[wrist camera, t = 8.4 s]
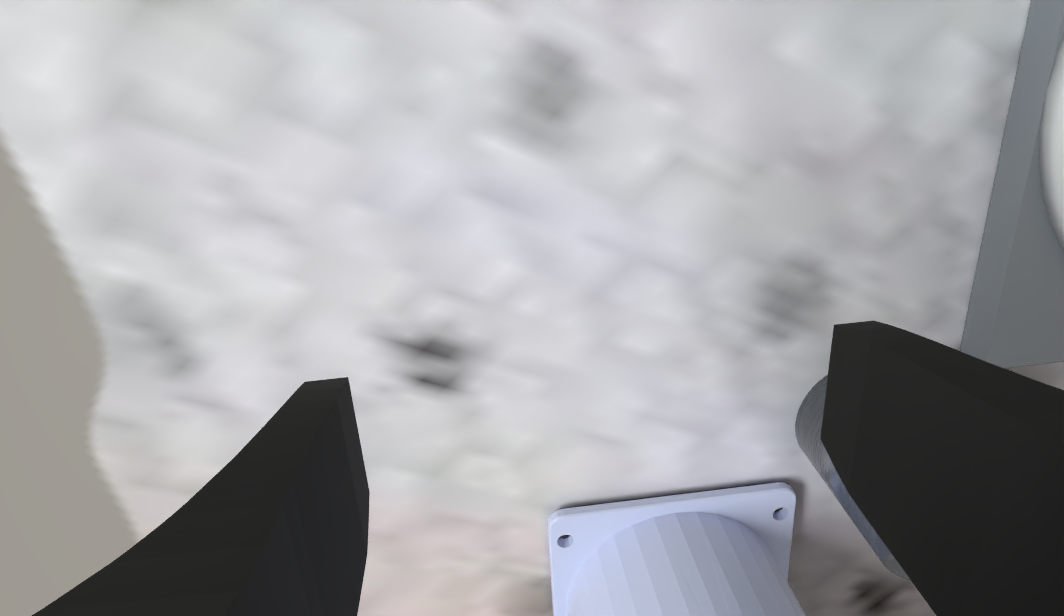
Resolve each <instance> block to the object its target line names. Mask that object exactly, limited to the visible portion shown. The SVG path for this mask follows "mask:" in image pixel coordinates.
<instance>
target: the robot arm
mask: <svg viewBox="0 0 1064 616" xmlns="http://www.w3.org/2000/svg"><path fill="white" fill-rule="evenodd" d="M820 439H821V441H822V443H823V445H824V447H825V449H826V451H827V453H828V455H829V457H830V459H831V461H832V463H833V465H834V467H835V469H836V471H837V473H838V475H839V477H840V479H841V480H842V482H843V484H844V486H845V488H846V490H847V491H848V493H849V495H850V496H851V498H852V499H853V500H854V502H855V503H856V505H857V506H858V508H859V509H860V511H861V512H862V513H863V515H864V516H865V518H866V519H867V520H868V522H869V523H870V525H871V526H872V527H873V529H874V530H875V532H876V533H877V534H878V536H879V537H880V539H881V540H882V541H883V543H884V544H885V545H886V547H887V548H888V549H889V551H890V552H891V554H892V555H893V556H894V558H895V559H896V560H897V562H898V563H899V565H900V566H901V567H902V569H903V570H904V571H905V573H906V574H907V576H908V577H909V578H910V580H911V581H912V582H913V584H914V585H915V586H916V588H917V589H918V591H919V592H920V593H921V595H922V596H923V597H924V599H925V600H926V602H927V603H928V604H929V606H930V607H931V608H932V610H933V611H934V613H935V614H936V615H937V616H1064V390H1061V389H1058V388H1055V387H1052V386H1049V385H1047V384H1044V383H1041V382H1038V381H1036V380H1033V379H1030V378H1028V377H1025V376H1022V375H1020V374H1017V373H1014V372H1012V371H1009V370H1006V369H1004V368H1001V367H999V366H996V365H994V364H991V363H988V362H986V361H983V360H981V359H978V358H976V357H973V356H971V355H968V354H966V353H963V352H961V351H958V350H955V349H953V348H950V347H948V346H945V345H943V344H940V343H938V342H935V341H933V340H930V339H927V338H925V337H922V336H919V335H917V334H914V333H911V332H909V331H906V330H903V329H900V328H897V327H894V326H891V325H888V324H884V323H880V322H877V321H866V322H857V323H848V324H838V325H834V330H833V338H832V346H831V355H830V363H829V371H828V379H827V387H826V395H825V404H824V412H823V420H822V428H821V436H820ZM781 507H782V509H781V510H780V511H778V512H774V511H775V510H776V509H778V508H781ZM795 507H796V494H795V492H794V491H793V489H792V488H791V486H790V485H789V484H787V483H784V482H777V483H769V484H761V485H753V486H745V487H736V488H728V489H720V490H712V491H704V492H696V493H688V494H680V495H671V496H663V497H655V498H647V499H639V500H631V501H623V502H614V503H606V504H598V505H590V506H582V507H574V508H566V509H560V510H557V511H555V512H554V513H552V514H551V515H550V517H549V518H548V523H547V525H548V541H549V556H550V572H551V588H552V603H553V616H806V615H805V613H804V611H803V609H802V608H801V606H800V604H799V602H798V600H797V598H796V597H795V595H794V593H793V591H792V589H791V587H790V586H789V584H788V582H787V580H788V570H789V561H790V552H791V543H792V534H793V525H794V516H795ZM368 522H369V488H368V482H367V477H366V471H365V466H364V461H363V455H362V450H361V445H360V439H359V434H358V428H357V423H356V418H355V412H354V407H353V402H352V396H351V391H350V385H349V380H348V377H346V378H337V379H327V380H318V381H309V382H304V383H303V384H302V385H301V386H300V387H299V388H298V389H297V390H296V392H295V393H294V394H293V395H292V396H291V397H290V398H289V399H288V400H287V401H286V403H285V404H284V405H283V406H282V407H281V408H280V409H279V410H278V411H277V413H276V414H275V415H274V416H273V417H272V418H271V419H270V420H269V421H268V422H267V424H266V425H265V426H264V427H263V428H262V429H261V430H260V431H259V432H258V433H257V434H256V435H255V436H254V437H253V438H252V439H251V441H250V442H249V443H248V444H247V445H246V446H245V447H244V448H243V449H242V450H241V451H240V452H239V453H238V454H237V455H236V456H235V457H234V458H233V459H232V460H231V461H230V462H229V463H228V464H227V465H226V466H225V467H224V468H223V469H222V470H221V471H220V472H219V473H218V474H216V475H215V476H214V477H213V478H212V479H211V480H210V481H209V482H208V483H207V484H206V485H205V486H204V487H203V488H202V489H201V490H200V491H199V492H197V493H196V494H195V495H194V496H193V497H192V498H191V499H190V500H189V501H188V502H187V503H186V504H185V505H183V506H182V507H181V508H180V509H179V510H178V511H177V512H175V513H174V514H173V515H172V516H171V517H169V518H168V519H167V520H166V521H165V522H163V523H162V524H161V525H160V526H159V527H157V528H156V529H155V530H154V531H152V532H151V533H150V534H148V535H147V536H146V537H145V538H143V539H142V540H141V541H139V542H138V543H137V544H136V545H134V546H133V547H132V548H130V549H129V550H128V551H127V552H125V553H124V554H123V555H121V556H120V557H119V558H117V559H116V560H114V561H113V562H112V563H110V564H109V565H107V566H106V567H104V568H103V569H101V570H100V571H98V572H97V573H95V574H94V575H92V576H91V577H90V578H88V579H86V580H85V581H83V582H82V583H80V584H79V585H78V586H76V587H75V588H73V589H72V590H70V591H69V592H67V593H66V594H64V595H63V596H61V597H60V598H58V599H57V600H56V601H54V602H52V603H51V604H49V605H48V606H46V607H45V608H44V609H42V610H40V611H38V612H37V613H35V614H34V615H32V616H357V613H358V607H359V601H360V595H361V589H362V583H363V577H364V570H365V564H366V558H367V546H368ZM562 535H570V536H569V537H568V538H565V539H559V537H560V536H562Z"/></svg>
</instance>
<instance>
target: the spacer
mask: <svg viewBox="0 0 1064 616" xmlns="http://www.w3.org/2000/svg"><path fill="white" fill-rule="evenodd" d="M827 379H828V375H827V376H825V377H824V378H823V379H822V380H820V381H819V382H818V383H817V384H816V385H815V386H814V387H813V388H812V389H811V390H810V392H809V393H808V394H807V395H806V397H805V399H804V400H803V402H802V404H801V406H800V408H799V411H798V414H797V418H796V424H795V431H796V438H797V441H798V444H799V446H800V448H801V449H802V451H803V452H804V453H805V455H806V456H807V458H808V459H809V460H810V462H811V463H812V465H813V466H814V467H815V469H816V470H817V472H818V473H819V474H820V476H821V477H822V479H823V480H824V481H825V483H826V484H827V486H828V487H829V489H830V490H831V491H832V493H833V494H834V496H835V497H836V498H837V500H838V501H839V503H840V504H841V505H842V507H843V508H844V510H845V511H846V512H847V514H848V515H849V517H850V518H851V519H852V521H853V522H854V524H855V525H856V526H857V528H858V529H859V531H860V532H861V533H862V535H863V536H864V538H865V539H866V540H867V542H868V543H869V545H870V546H871V548H872V549H873V550H874V552H875V553H876V555H877V556H878V557H879V559H880V560H881V561H882V563H883V564H884V565H885V567H886V568H888V569H889V570H890V571H891V572H893V573H894V574H896V575H898V576H900V577H902V578H906V579H909V580H910V578H909V577H908V576H907V574H906V573H905V571H904V570H903V569H902V567H901V566H900V565H899V563H898V562H897V560H896V559H895V558H894V556H893V555H892V554H891V552H890V551H889V549H888V548H887V547H886V545H885V544H884V543H883V541H882V540H881V539H880V537H879V536H878V534H877V533H876V532H875V530H874V529H873V527H872V526H871V525H870V523H869V522H868V520H867V519H866V518H865V516H864V515H863V513H862V512H861V511H860V509H859V508H858V506H857V505H856V503H855V502H854V500H853V499H852V498H851V496H850V495H849V493H848V491H847V490H846V488H845V486H844V484H843V482H842V480H841V479H840V477H839V475H838V473H837V471H836V469H835V467H834V465H833V463H832V461H831V459H830V457H829V455H828V453H827V451H826V449H825V447H824V445H823V443H822V441H821V439H820V436H821V428H822V420H823V412H824V404H825V395H826V387H827Z"/></svg>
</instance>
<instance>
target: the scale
mask: <svg viewBox="0 0 1064 616" xmlns="http://www.w3.org/2000/svg"><path fill="white" fill-rule="evenodd" d="M960 351H961V352H963V353H966V354H968V355H971V356H973V357H976V358H978V359H981V360H983V361H986V362H988V363H991V364H994V365H996V366H999V367H1001V368H1012V367H1020V366H1029V365H1038V364H1047V363H1055V362H1064V0H1031V4H1030V9H1029V14H1028V19H1027V24H1026V29H1025V34H1024V38H1023V43H1022V48H1021V53H1020V58H1019V63H1018V68H1017V73H1016V78H1015V83H1014V87H1013V92H1012V97H1011V102H1010V107H1009V112H1008V117H1007V122H1006V127H1005V132H1004V137H1003V141H1002V146H1001V151H1000V156H999V161H998V166H997V171H996V176H995V181H994V186H993V191H992V195H991V200H990V205H989V210H988V215H987V220H986V225H985V230H984V235H983V240H982V244H981V249H980V254H979V259H978V264H977V269H976V274H975V279H974V284H973V289H972V294H971V298H970V303H969V308H968V313H967V318H966V323H965V328H964V333H963V338H962V343H961V348H960Z"/></svg>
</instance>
